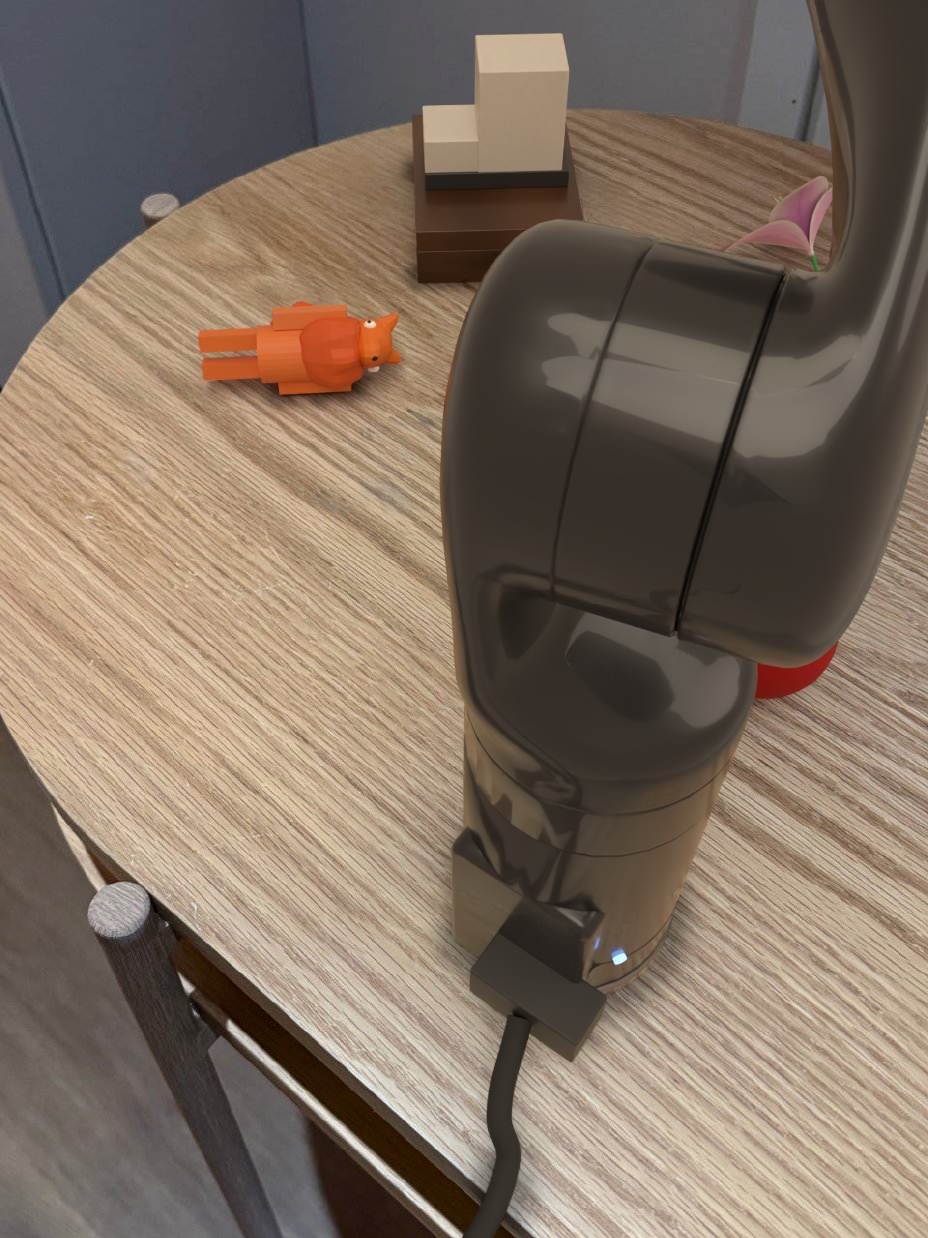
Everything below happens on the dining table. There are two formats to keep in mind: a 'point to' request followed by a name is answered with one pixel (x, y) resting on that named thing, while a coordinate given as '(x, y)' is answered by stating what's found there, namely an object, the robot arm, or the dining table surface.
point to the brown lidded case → (478, 219)
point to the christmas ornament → (789, 677)
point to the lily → (794, 219)
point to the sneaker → (504, 119)
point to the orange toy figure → (303, 349)
